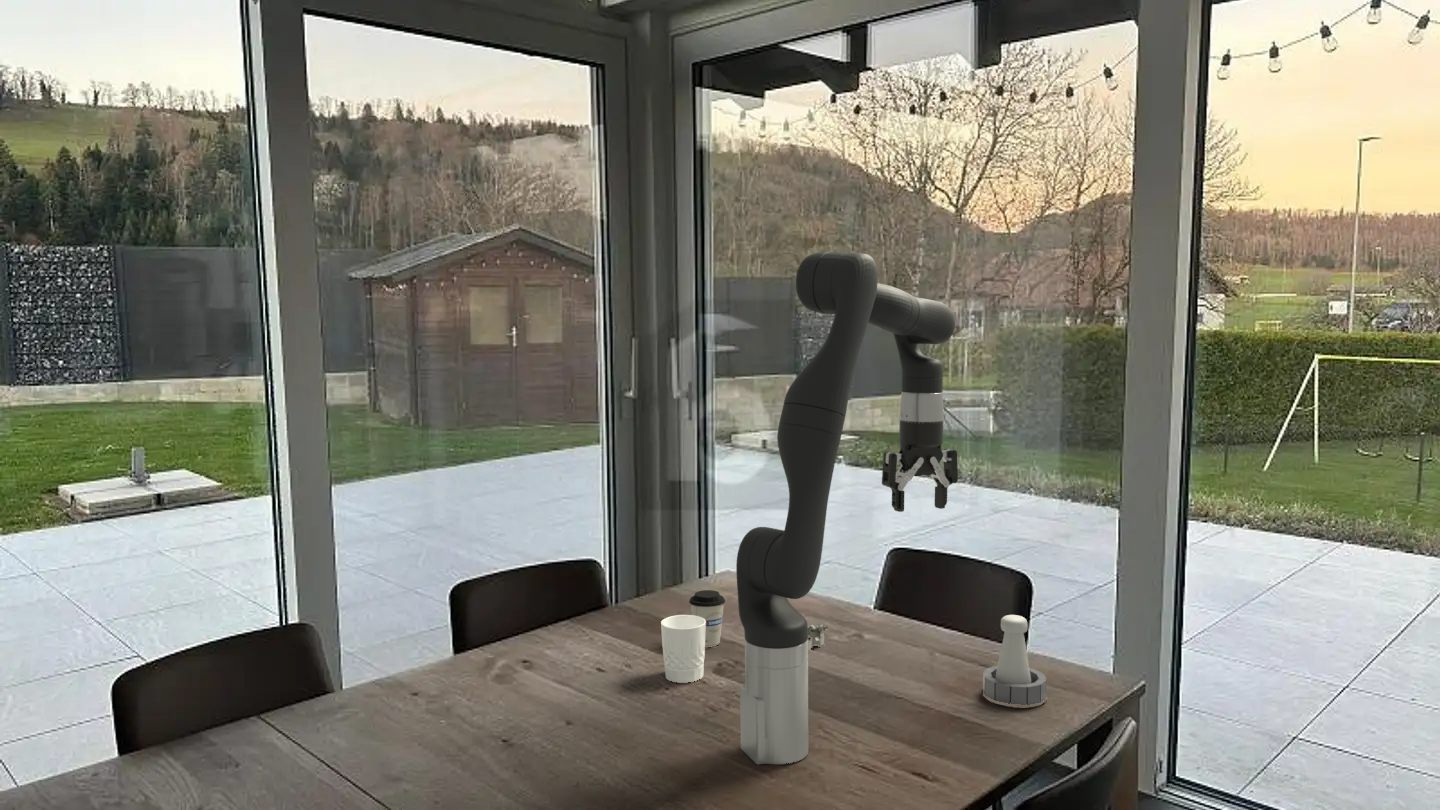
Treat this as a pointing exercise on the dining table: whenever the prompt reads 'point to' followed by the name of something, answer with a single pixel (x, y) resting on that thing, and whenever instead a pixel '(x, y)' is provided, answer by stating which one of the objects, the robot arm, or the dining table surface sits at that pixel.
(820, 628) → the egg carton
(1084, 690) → the dining table surface
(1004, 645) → the salt shaker
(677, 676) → the white cup
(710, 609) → the coffee cup
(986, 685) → the bowl
